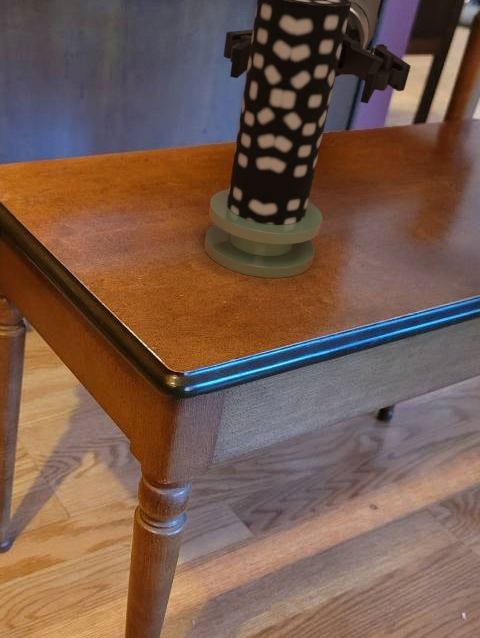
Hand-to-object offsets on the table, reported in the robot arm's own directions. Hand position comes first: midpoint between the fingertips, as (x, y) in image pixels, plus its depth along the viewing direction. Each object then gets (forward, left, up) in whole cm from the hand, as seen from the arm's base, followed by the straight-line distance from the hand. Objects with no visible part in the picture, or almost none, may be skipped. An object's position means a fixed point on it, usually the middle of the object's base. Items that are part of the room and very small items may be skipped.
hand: (300, 75), depth 74 cm
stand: (-1, +5, -17) cm, 18 cm away
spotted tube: (-1, +5, -13) cm, 13 cm away
